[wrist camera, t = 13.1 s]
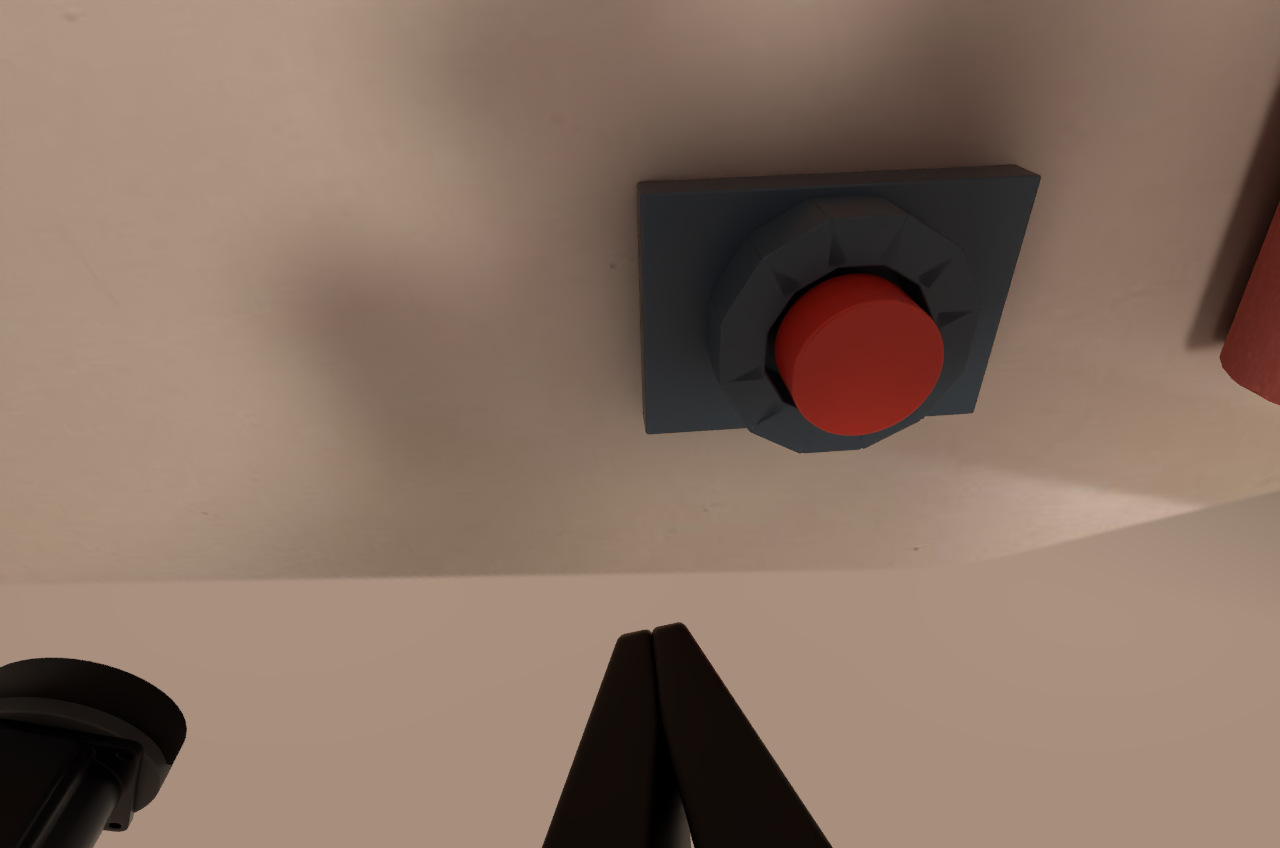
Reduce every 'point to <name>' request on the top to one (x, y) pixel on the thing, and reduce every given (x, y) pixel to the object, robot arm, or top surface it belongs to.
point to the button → (858, 354)
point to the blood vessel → (1258, 324)
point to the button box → (814, 284)
